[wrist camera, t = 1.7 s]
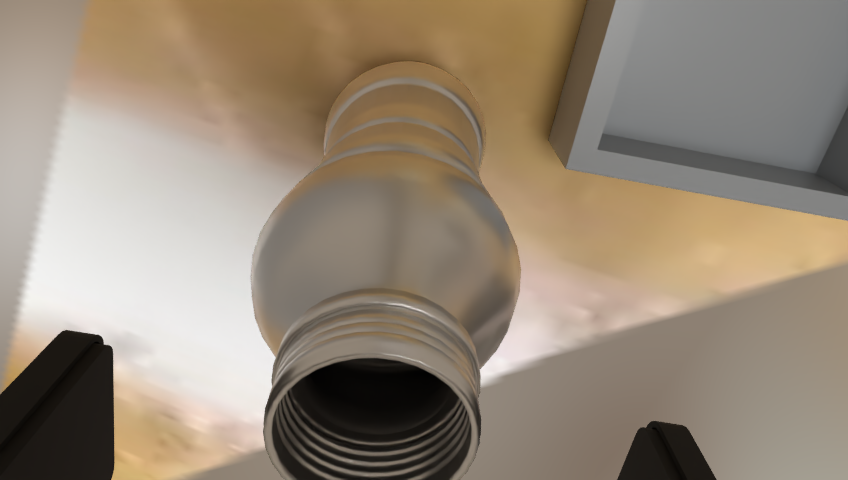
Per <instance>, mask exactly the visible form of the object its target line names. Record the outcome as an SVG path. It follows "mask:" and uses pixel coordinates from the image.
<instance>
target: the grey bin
mask: <svg viewBox="0 0 848 480" xmlns="http://www.w3.org/2000/svg"><path fill="white" fill-rule="evenodd" d="M548 141H549V142H550V144H551V146H552V147H553V149H554V151H555V152H556V154H557V155H558V157H559V159H560V160H561V162H562V164H563V165H564V167H565V168H566V169H569V170H575V171H580V172H586V173H591V174H596V175H602V176H607V177H613V178H618V179H624V180H629V181H635V182H640V183H645V184H651V185H656V186H662V187H667V188H673V189H678V190H684V191H689V192H695V193H700V194H705V195H711V196H716V197H722V198H727V199H733V200H738V201H744V202H749V203H754V204H760V205H765V206H771V207H776V208H782V209H787V210H793V211H798V212H804V213H809V214H814V215H820V216H825V217H831V218H836V219H842V220H847V221H848V0H587V4H586V7H585V11H584V15H583V18H582V22H581V25H580V29H579V32H578V36H577V40H576V43H575V47H574V50H573V54H572V57H571V61H570V65H569V68H568V72H567V75H566V79H565V82H564V86H563V90H562V93H561V97H560V100H559V104H558V107H557V111H556V115H555V118H554V122H553V125H552V129H551V132H550V136H549V140H548Z"/></svg>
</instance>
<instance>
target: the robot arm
mask: <svg viewBox="0 0 848 480" xmlns="http://www.w3.org/2000/svg"><path fill="white" fill-rule="evenodd" d="M113 470H114V393H113V349H112V347H111V346H109V345H104V342H103V339H102V337H101V336H100V335H95V334H88V333H82V332H75V331H69V330H65V331H62V332H61V333H60V334H59V335H58V336H57V337H56V338H55V339H54V340H53V341H52V342H51V343H50V344H49V345H48V346H47V347H46V348H45V349H44V350H43V351H42V352H41V353H40V354H39V355H38V356H37V357H36V358H35V359H34V360H33V361H32V362H31V363H30V364H29V366H28V367H27V368H26V369H25V370H24V371H23V372H22V373H21V374H20V375H19V376H18V377H17V378H16V379H15V380H14V381H13V382H12V383H11V384H10V385H9V386H8V387H7V388H6V389H5V390H4V391H3V392H2V393H1V394H0V480H111V478H112V475H113ZM617 480H716V478H715V476H714V474H713V473H712V471H711V469H710V467H709V465H708V464H707V462H706V460H705V458H704V456H703V455H702V453H701V451H700V449H699V448H698V446H697V444H696V442H695V441H694V439H693V437H692V435H691V433H690V432H689V430H688V429H687V428H686V427H685V426H683V425H677V424H671V423H664V422H658V421H652V422H650V423H649V424H648V425H647V427H646V428H644V427H643V428H640V429H639V430H638V431H637V433H636V435H635V438H634V440H633V443H632V445H631V448H630V450H629V452H628V455H627V457H626V460H625V462H624V465H623V467H622V470H621V472H620V475H619V477H618V479H617Z"/></svg>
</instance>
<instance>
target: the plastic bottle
mask: <svg viewBox="0 0 848 480" xmlns="http://www.w3.org/2000/svg"><path fill="white" fill-rule="evenodd" d="M485 136H486V130H485V125H484V119H483V115H482V113H481V110H480V108H479V105H478V103H477V101H476V100H475V98H474V97H473V95H472V94H471V93H470V91H469V90H468V89H467V88H466V87H465V86H464V85H463V84H462V83H461V82H460V81H459V80H458V79H457V78H455V77H454V76H452V75H451V74H449V73H447V72H446V71H444V70H442V69H440V68H437V67H435V66H432V65H429V64H426V63H420V62H414V61H402V62H393V63H389V64H385V65H380V66H377V67H375V68H373V69H371V70H368V71H366V72H364V73H362V74H361V75H360V76H358V77H357V78H355V79H354V80H353V81H351V82H350V83H349V84H348V85H347V86H346V87H345V88H344V90H343V91H342V92H341V93H340V94H339V96H338V97H337V99H336V100H335V102H334V104H333V105H332V107H331V110H330V113H329V116H328V118H327V121H326V129H325V136H324V159H323V160H322V162H321V163H320V165H319V166H317V167H316V168H315V169H314V170H313V171H312V172H310V173H309V174H308V175H307V176H306V177H305V178H304V179H303V180H301V181H300V182H299V183H298V184H297V185H296V186H295V187H294V188H293V189H292V190H291V191H290V192H289V193H288V194H287V195H286V196H285V197H284V198H283V199H282V201H281V202H280V203H279V205H278V206H277V207H276V208H275V210H274V211H273V212H272V214H271V215H270V217H269V219H268V220H267V222H266V224H265V225H264V227H263V229H262V230H261V232H260V234H259V237H258V240H257V243H256V246H255V249H254V252H253V258H252V269H251V289H252V300H253V307H254V314H255V319H256V322H257V324H258V327H259V329H260V332H261V334H262V337H263V339H264V340H265V342H266V343H267V345H268V346H269V348H270V349H271V351H272V352H273V354H274V356H275V357H276V359H275V362H274V365H273V373H272V389H271V392H270V395H269V399H268V401H267V404H266V407H265V415H264V429H263V435H264V441H265V448H266V450H267V452H268V455H269V458H270V460H271V462H272V464H273V465H274V467H275V468H276V469H277V471H278V472H279V474H280V475H281V476H282V477H283V478H284V479H285V480H460V479H461V478H462V477H463V476H464V475H465V474H466V472H467V471H468V469H469V467H470V466H471V464H472V462H473V461H474V459H475V456H476V453H477V449H478V446H479V440H480V439H479V438H480V435H481V415H480V409H479V402H478V397H479V394H480V369H481V368H482V367H483V366H484V364H485V363H486V362H487V361H488V360H489V359H490V357H491V356H492V355H493V354H494V353H495V352H496V351H497V349H498V347H499V345H500V344H501V342H502V340H503V338H504V336H505V335H506V333H507V331H508V328H509V325H510V322H511V319H512V316H513V312H514V309H515V306H516V302H517V299H518V296H519V292H520V277H521V267H520V261H519V255H518V250H517V246H516V243H515V241H514V239H513V236H512V234H511V232H510V229H509V227H508V225H507V223H506V220H505V218H504V216H503V213H502V211H501V210H500V208H499V207H498V206H497V204H496V203H495V202H494V200H493V199H492V197H491V196H490V194H489V193H488V191H487V190H486V189H485V187H484V186H483V184H482V182H481V179H480V177H479V174H478V173H479V171H480V168H481V164H482V160H483V156H484V150H485Z"/></svg>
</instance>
